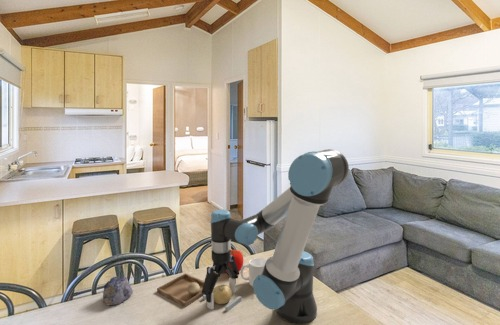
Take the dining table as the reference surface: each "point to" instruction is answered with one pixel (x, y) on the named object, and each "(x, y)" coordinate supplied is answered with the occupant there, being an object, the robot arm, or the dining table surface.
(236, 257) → the tomato
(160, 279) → the dining table surface
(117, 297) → the rock
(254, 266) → the cup
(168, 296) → the tray
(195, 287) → the ball
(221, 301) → the onion
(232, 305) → the cradle
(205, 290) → the robot arm
